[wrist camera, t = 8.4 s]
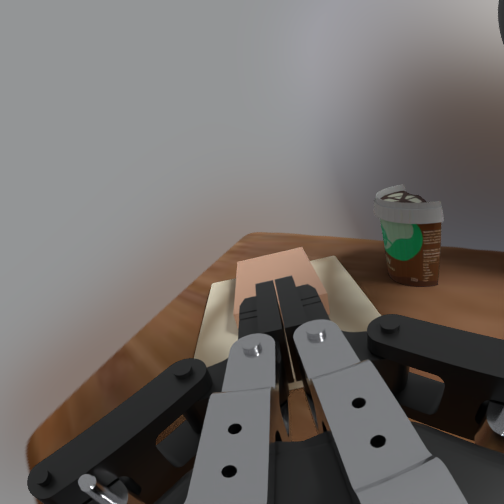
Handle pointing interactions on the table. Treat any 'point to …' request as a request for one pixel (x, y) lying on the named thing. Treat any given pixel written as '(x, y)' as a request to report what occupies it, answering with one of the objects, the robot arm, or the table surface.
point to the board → (226, 332)
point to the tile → (276, 275)
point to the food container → (410, 236)
